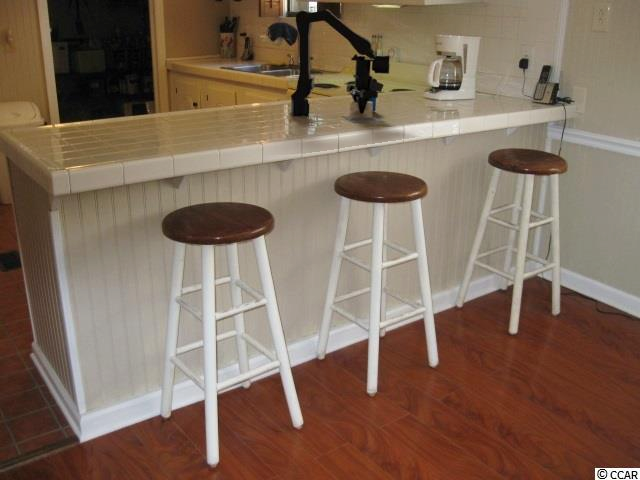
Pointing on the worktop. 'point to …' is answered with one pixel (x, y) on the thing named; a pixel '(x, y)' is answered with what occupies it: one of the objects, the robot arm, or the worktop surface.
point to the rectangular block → (356, 112)
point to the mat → (363, 119)
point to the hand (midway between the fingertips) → (360, 113)
